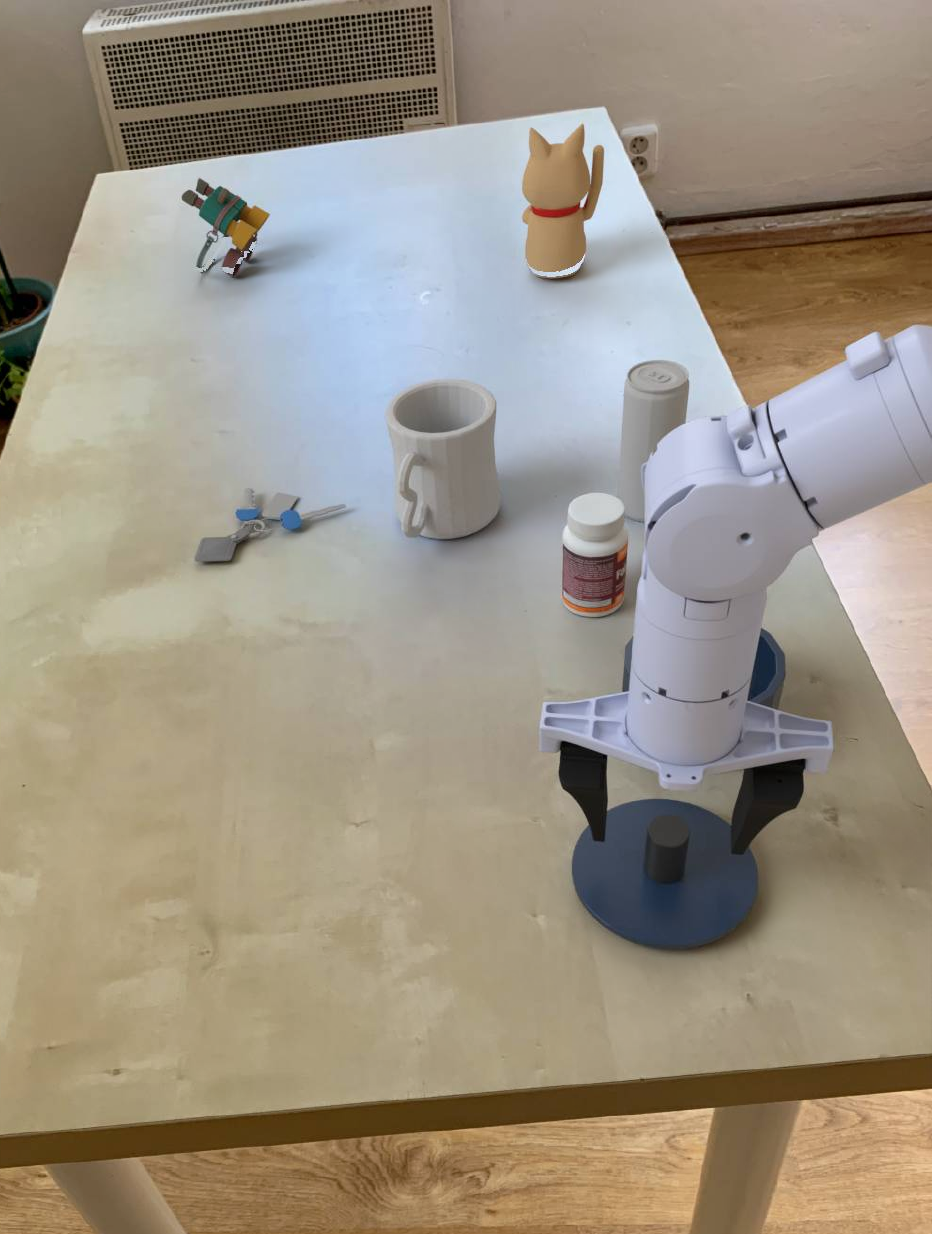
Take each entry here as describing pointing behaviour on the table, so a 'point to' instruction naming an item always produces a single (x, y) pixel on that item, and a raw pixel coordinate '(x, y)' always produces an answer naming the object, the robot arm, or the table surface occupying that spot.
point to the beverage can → (648, 423)
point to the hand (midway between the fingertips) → (667, 834)
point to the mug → (444, 458)
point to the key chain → (275, 510)
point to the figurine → (559, 200)
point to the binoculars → (227, 221)
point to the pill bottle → (594, 555)
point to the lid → (664, 875)
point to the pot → (764, 675)
